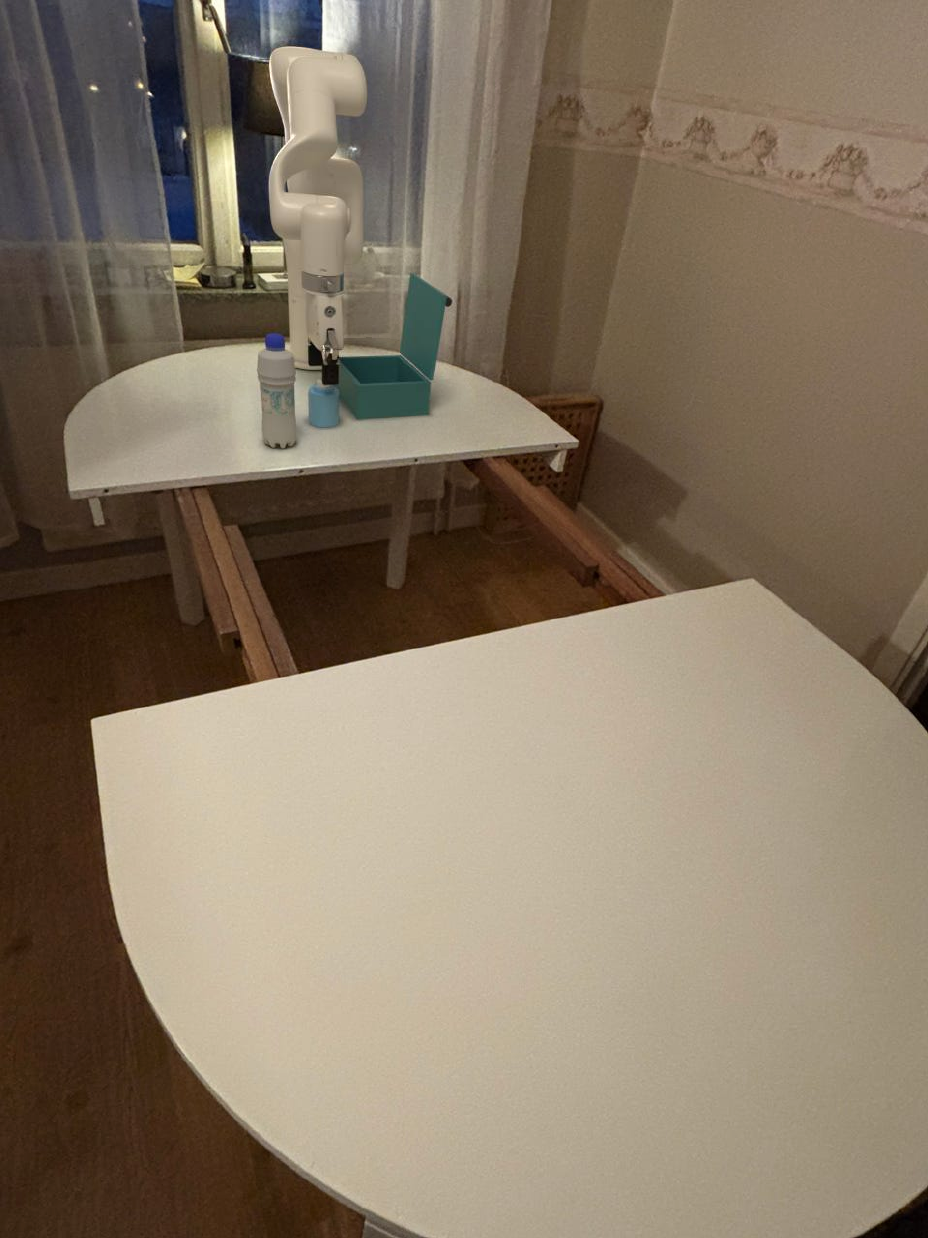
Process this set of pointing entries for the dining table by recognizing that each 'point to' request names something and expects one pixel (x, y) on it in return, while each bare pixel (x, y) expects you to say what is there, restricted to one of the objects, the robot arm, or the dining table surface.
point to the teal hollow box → (382, 387)
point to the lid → (423, 324)
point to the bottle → (277, 392)
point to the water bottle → (323, 405)
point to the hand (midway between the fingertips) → (323, 374)
